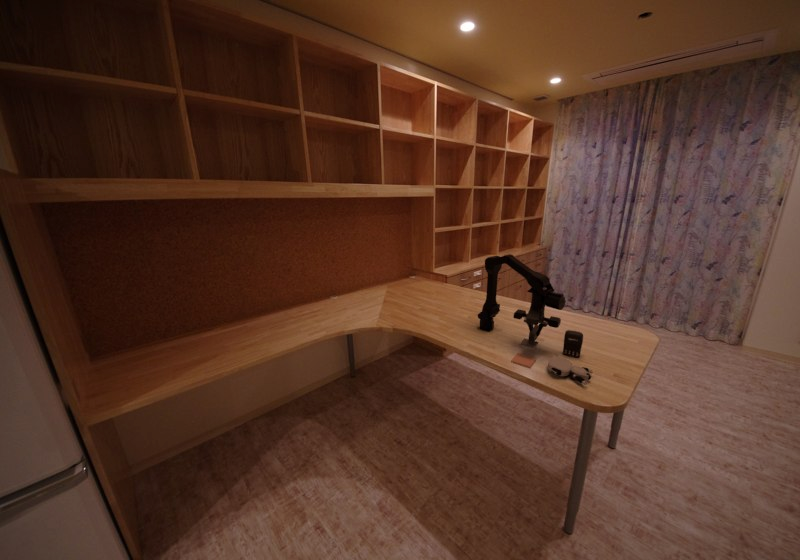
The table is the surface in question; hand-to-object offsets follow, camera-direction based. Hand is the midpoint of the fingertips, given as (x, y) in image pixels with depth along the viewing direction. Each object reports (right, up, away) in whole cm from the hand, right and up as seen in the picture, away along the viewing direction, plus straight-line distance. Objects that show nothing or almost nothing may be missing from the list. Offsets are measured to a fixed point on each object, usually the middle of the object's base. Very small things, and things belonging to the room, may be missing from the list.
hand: (534, 335), depth 134 cm
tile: (-6, -8, -6) cm, 12 cm away
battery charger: (+14, -8, -5) cm, 17 cm away
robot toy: (+5, -12, -19) cm, 23 cm away
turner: (-2, -2, -2) cm, 4 cm away
